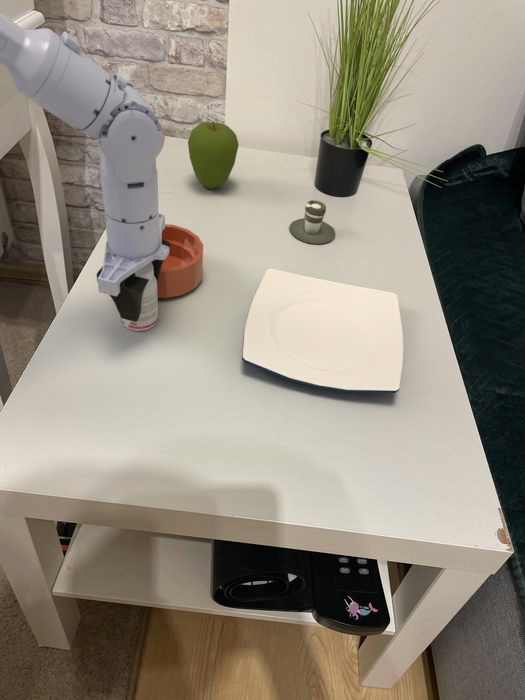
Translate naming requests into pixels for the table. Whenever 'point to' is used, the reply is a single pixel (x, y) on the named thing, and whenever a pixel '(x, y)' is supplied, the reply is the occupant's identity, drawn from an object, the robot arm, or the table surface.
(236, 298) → the table surface
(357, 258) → the table surface
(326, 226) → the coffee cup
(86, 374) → the table surface
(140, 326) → the pill bottle
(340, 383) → the plate
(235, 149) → the apple
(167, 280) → the bowl
